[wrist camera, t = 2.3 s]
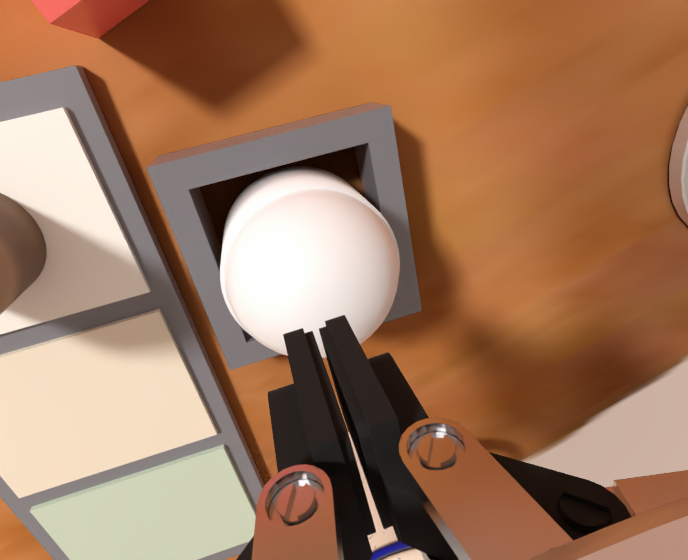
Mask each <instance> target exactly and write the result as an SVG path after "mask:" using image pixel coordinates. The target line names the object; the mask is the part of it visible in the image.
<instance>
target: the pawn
mask: <svg viewBox="0 0 688 560" xmlns="http://www.w3.org/2000/svg"><path fill="white" fill-rule="evenodd" d="M46 256H47V250H46V243H45V239H44V236H43V233H42V231H41V229H40V227H39V226H38V224H37V223H36V221H35V220H34V218H33V217H32V216H31V215H30V214H29V213H28V212H27V211H26V210H25V209H24V208H23V207H22V206H21V205H19V204H18V203H17V202H15V201H14V200H12V199H11V198H9V197H8V196H6V195H4V194H2V193H0V315H1V314H2V313H3V312H4V311H5V310H6V309H7V308H8V307H9V306H10V305H11V304H12V303H13V302H14V301H15V300H16V299H17V298H18V297H19V296H20V295H21V294H22V293H23V292H24V291H25V290H26V289H27V288H28V287H29V286H30V285H31V284H32V283H33V282H34V281H35V280H36V279H37V278H38V277H39V275H40V274H41V272H42V270H43V268H44V265H45V262H46Z"/></svg>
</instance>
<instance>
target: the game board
mask: <svg viewBox="0 0 688 560" xmlns="http://www.w3.org/2000/svg"><path fill="white" fill-rule="evenodd" d="M0 193H2V194H4V195H6V196H8V197H9V198H11V199H12V200H14V201H15V202H17V203H18V204H19V205H21V206H22V207H23V208H24V209H25V210H26V211H27V212H28V213H29V214H30V215H31V216H32V217H33V218H34V220H35V221H36V223H37V224H38V226H39V227H40V229H41V231H42V233H43V236H44V239H45V243H46V250H47V256H46V262H45V265H44V268H43V270H42V272H41V274H40V275H39V277H38V278H37V279H36V280H35V281H34V282H33V283H32V284H31V285H30V286H29V287H28V288H27V289H26V290H25V291H24V292H23V293H22V294H21V295H20V296H19V297H18V298H17V299H16V300H15V301H14V302H13V303H12V304H11V305H10V306H9V307H8V308H7V309H6V310H5V311H4V312H3V313H2V314H1V315H0V497H1V498H2V500H3V501H4V502H5V503H6V504H7V505H8V507H9V508H10V509H11V510H12V511H13V512H14V514H15V515H16V516H17V517H18V518H19V519H20V521H21V522H22V523H23V524H24V525H25V526H26V528H27V529H28V530H29V531H30V532H31V533H32V535H33V536H34V537H35V538H36V539H37V540H38V542H39V543H40V544H41V545H42V546H43V547H44V549H45V550H46V551H47V552H48V553H49V554H50V556H51V557H52V558H53V559H54V560H224V559H227V558H230V557H233V556H236V555H239V554H241V553H242V551H243V550H244V548H245V547H246V546H247V544H248V543H249V542H250V540H251V539H252V537H253V536H254V529H255V518H256V508H257V502H258V499H259V495H260V493H261V491H262V490H263V488H264V486H265V485H264V483H263V481H262V478H261V476H260V474H259V471H258V469H257V467H256V464H255V462H254V460H253V458H252V455H251V453H250V451H249V448H248V446H247V444H246V442H245V439H244V437H243V435H242V432H241V430H240V428H239V425H238V423H237V421H236V419H235V416H234V414H233V412H232V409H231V407H230V405H229V402H228V400H227V398H226V396H225V393H224V391H223V389H222V386H221V384H220V382H219V380H218V377H217V375H216V373H215V370H214V368H213V366H212V363H211V361H210V359H209V357H208V354H207V352H206V350H205V347H204V345H203V343H202V340H201V338H200V336H199V334H198V331H197V329H196V327H195V324H194V322H193V320H192V318H191V315H190V313H189V311H188V308H187V306H186V304H185V301H184V299H183V297H182V295H181V292H180V290H179V288H178V285H177V283H176V281H175V279H174V276H173V274H172V272H171V269H170V267H169V265H168V262H167V260H166V258H165V256H164V253H163V251H162V249H161V246H160V244H159V242H158V239H157V237H156V235H155V233H154V230H153V228H152V226H151V223H150V221H149V219H148V217H147V214H146V212H145V210H144V207H143V205H142V203H141V200H140V198H139V196H138V194H137V191H136V189H135V187H134V184H133V182H132V180H131V177H130V175H129V173H128V171H127V168H126V166H125V164H124V161H123V159H122V157H121V155H120V152H119V150H118V148H117V145H116V143H115V141H114V138H113V136H112V134H111V132H110V129H109V127H108V125H107V122H106V120H105V118H104V115H103V113H102V111H101V109H100V106H99V104H98V102H97V99H96V97H95V95H94V93H93V90H92V88H91V86H90V83H89V81H88V79H87V76H86V74H85V72H84V70H83V67H82V66H71V67H67V68H62V69H58V70H53V71H49V72H44V73H40V74H36V75H31V76H27V77H22V78H18V79H13V80H9V81H5V82H0Z"/></svg>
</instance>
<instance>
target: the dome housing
mask: <svg viewBox="0 0 688 560" xmlns="http://www.w3.org/2000/svg"><path fill="white" fill-rule="evenodd" d="M350 147H354V149H355V154H356V159H357V164H358V169H359V174H360V179H361V184H362V189H363V195H364V198H365V199H366V200H367V201H368V202H369V203H370V204H372V205H373V206H374V207H375V208H376V209H377V210H378V211H379V212H380V213H381V214H382V216H383V217H384V218H385V219H386V221H387V222H388V224H389V226H390V227H391V229H392V231H393V233H394V236H395V239H396V241H397V245H398V249H399V257H400V272H399V278H398V286H397V292H396V295H395V298H394V301H393V304H392V306H391V309H390V311H389V313H388V315H387V316H386V318H385V320H384V321H383V322H382V323H385V322H388V321H391V320H394V319H398V318H401V317H404V316H407V315H411V314H414V313H417V312H420V311H422V307H421V300H420V294H419V287H418V280H417V274H416V267H415V261H414V254H413V248H412V241H411V235H410V228H409V221H408V215H407V208H406V202H405V195H404V189H403V182H402V176H401V169H400V162H399V156H398V149H397V143H396V136H395V130H394V123H393V117H392V110H391V106H389V105H383V104H377V103H367V104H363V105H359V106H355V107H352V108H348V109H344V110H340V111H336V112H332V113H328V114H324V115H320V116H316V117H312V118H308V119H304V120H300V121H296V122H292V123H288V124H284V125H280V126H276V127H272V128H268V129H264V130H260V131H256V132H252V133H248V134H244V135H240V136H236V137H232V138H228V139H224V140H220V141H216V142H212V143H208V144H204V145H200V146H196V147H192V148H189V149H185V150H181V151H177V152H173V153H169V154H165V155H161V156H158V157H157V158H156V159H155V160H154V161H153V162H152V163H151V164H150V165H149V166H147V167H146V169H147V171H148V173H149V176H150V178H151V181H152V183H153V186H154V188H155V190H156V193H157V195H158V198H159V200H160V202H161V205H162V207H163V210H164V212H165V214H166V217H167V219H168V222H169V224H170V226H171V229H172V231H173V234H174V236H175V239H176V241H177V243H178V246H179V248H180V251H181V253H182V255H183V258H184V260H185V263H186V265H187V267H188V270H189V272H190V275H191V277H192V280H193V282H194V284H195V287H196V289H197V292H198V294H199V296H200V299H201V301H202V304H203V306H204V308H205V311H206V313H207V316H208V318H209V320H210V323H211V325H212V328H213V330H214V333H215V335H216V337H217V340H218V342H219V345H220V347H221V349H222V352H223V354H224V357H225V359H226V361H227V364H228V366H229V369H230V370H232V369H235V368H238V367H242V366H245V365H248V364H251V363H255V362H258V361H261V360H264V359H268V358H271V357H274V356H277V355H281V354H280V353H278V352H276V351H274V350H271V349H269V348H267V347H266V346H264V345H263V344H261V343H260V342H258V341H257V340H256V339H255V338H253V337H252V336H251V335H250V334H249V333H247V332H246V331H245V330H244V329H243V328H242V327H241V326H240V325H239V324H238V323H237V322H236V320H235V319H234V317H233V316H232V314H231V313H230V311H229V309H228V307H227V305H226V303H225V300H224V297H223V294H222V289H221V283H220V264H221V254H222V248H221V245H220V242H219V240H218V237H217V234H216V231H215V229H214V226H213V223H212V220H211V218H210V215H209V212H208V210H207V207H206V204H205V201H204V199H203V196H202V193H201V191H200V188H199V187H201V186H204V185H208V184H212V183H216V182H220V181H224V180H227V179H231V178H235V177H239V176H243V175H246V174H250V173H254V172H258V171H262V170H266V169H269V168H273V167H277V166H281V165H285V164H289V163H292V162H296V161H300V160H304V159H308V158H312V157H315V156H319V155H323V154H327V153H331V152H334V151H338V150H342V149H346V148H350Z"/></svg>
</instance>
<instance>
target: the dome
mask: <svg viewBox="0 0 688 560" xmlns="http://www.w3.org/2000/svg"><path fill="white" fill-rule="evenodd" d="M399 272H400V257H399V249H398V245H397V241H396V239H395V236H394V233H393V231H392V229H391V227H390V226H389V224H388V222H387V221H386V219H385V218H384V217H383V216H382V214H381V213H380V212H379V211H378V210H377V209H376V208H375V207H374V206H373V205H372V204H370V203H369V202H368V201H367V200H366V199H365V198H364V197H363V196H362V195H361V194H360V193H359V192H357V191H356V190H355V189H354V188H353V187H352V186H351V185H350V184H349V183H348V182H346V181H345V180H343V179H342V178H341V177H339V176H337V175H335V174H333V173H331V172H329V171H326V170H323V169H320V168H315V167H308V166H292V167H286V168H280V169H277V170H274V171H271V172H269V173H267V174H265V175H263V176H261V177H259V178H258V179H256V180H255V181H253V182H252V183H251V184H250V185H249V186H247V187H246V188H245V189H244V190H243V191H242V192H241V194H240V195H239V196H238V197H237V199H236V200H235V202H234V203H233V205H232V207H231V209H230V211H229V213H228V216H227V219H226V222H225V227H224V233H223V243H222V254H221V264H220V283H221V289H222V294H223V297H224V300H225V303H226V305H227V307H228V309H229V311H230V313H231V314H232V316H233V317H234V319H235V320H236V322H237V323H238V324H239V325H240V326H241V327H242V328H243V329H244V330H245V331H246V332H247V333H249V334H250V335H251V336H252V337H253V338H255V339H256V340H257V341H258V342H260V343H261V344H263V345H264V346H266V347H267V348H269V349H271V350H274V351H276V352H278V353H280V354H283V355H286V356H288V354H287V350H286V345H285V341H284V336H283V334H285V333H289V332H292V331H295V330H298V329H301V328H303V330H304V333H307V332H310V331H313V334H314V336H315V339H316V342H317V345H318V348H319V351H320V354H321V356H322V358H327V357H326V353H325V350H324V346H323V343H322V339H321V336H320V332H319V328H323V327H326V325H325V321H327V320H330V319H333V318H336V317H339V316H342V315H345V316H346V318H347V320H348V322H349V324H350V326H351V328H352V330H353V332H354V334H355V336H356V338H357V340H358V342H359V344H361V343H363V342H364V341H365V340H366V339H367V338H369V337H370V336H371V335H372V334H373V333H374V332H375V331H376V330H377V329H378V328H379V326H380V325H381V324H382V322H383V321H384V320H385V318H386V316H387V315H388V313H389V311H390V309H391V306H392V304H393V301H394V298H395V295H396V292H397V286H398V278H399Z"/></svg>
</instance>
